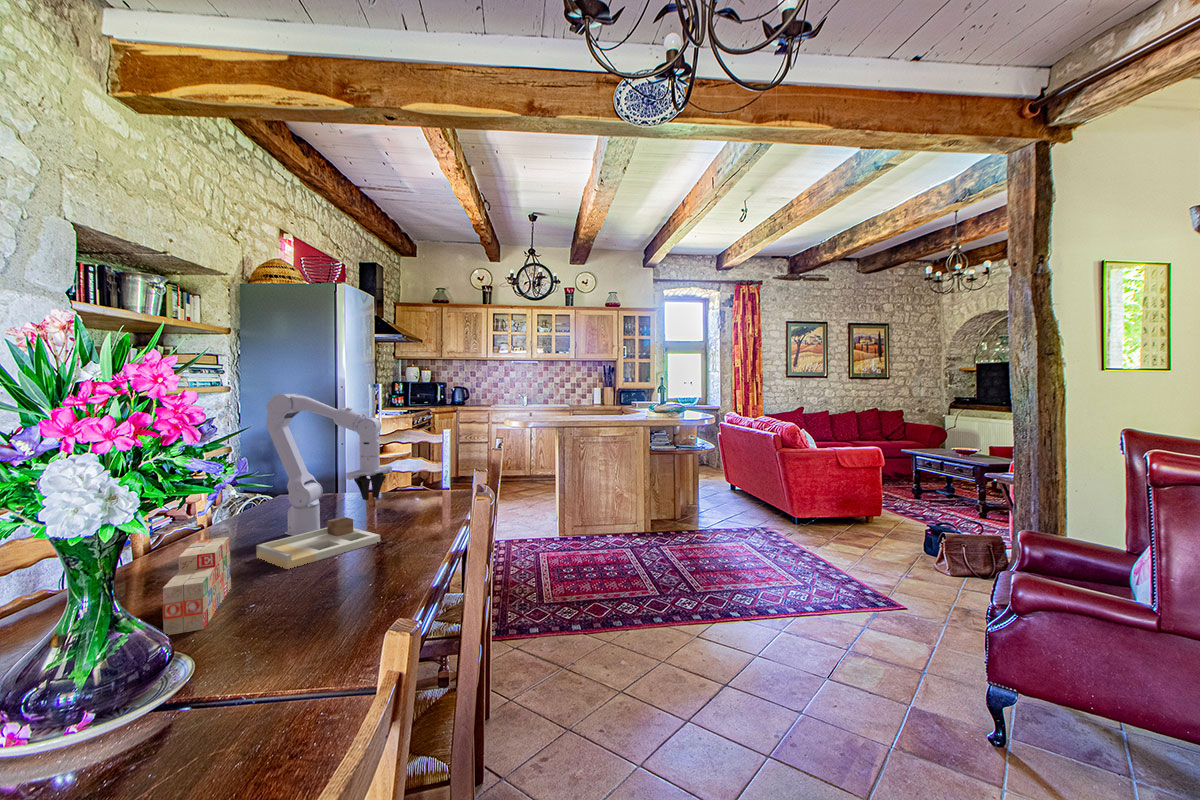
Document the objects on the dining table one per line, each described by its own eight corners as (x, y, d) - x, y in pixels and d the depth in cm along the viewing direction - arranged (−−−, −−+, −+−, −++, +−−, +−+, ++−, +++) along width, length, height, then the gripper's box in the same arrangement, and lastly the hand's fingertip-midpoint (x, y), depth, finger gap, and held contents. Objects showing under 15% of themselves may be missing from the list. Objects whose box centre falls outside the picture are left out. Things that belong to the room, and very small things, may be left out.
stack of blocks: (204, 630, 96) (202, 566, 96) (162, 637, 94) (160, 571, 93) (231, 588, 116) (229, 535, 115) (197, 593, 113) (195, 539, 113)
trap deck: (256, 558, 135) (256, 545, 135) (348, 533, 157) (348, 522, 157) (287, 569, 127) (287, 555, 127) (380, 541, 149) (380, 529, 149)
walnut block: (327, 533, 150) (327, 520, 150) (343, 529, 154) (343, 516, 154) (337, 536, 148) (336, 522, 147) (353, 532, 152) (353, 519, 152)
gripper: (355, 459, 150) (356, 504, 151) (397, 453, 163) (398, 495, 163) (341, 457, 154) (342, 502, 155) (384, 452, 166) (385, 493, 167)
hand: (370, 498), depth 159 cm, fingers open, 3 cm apart
